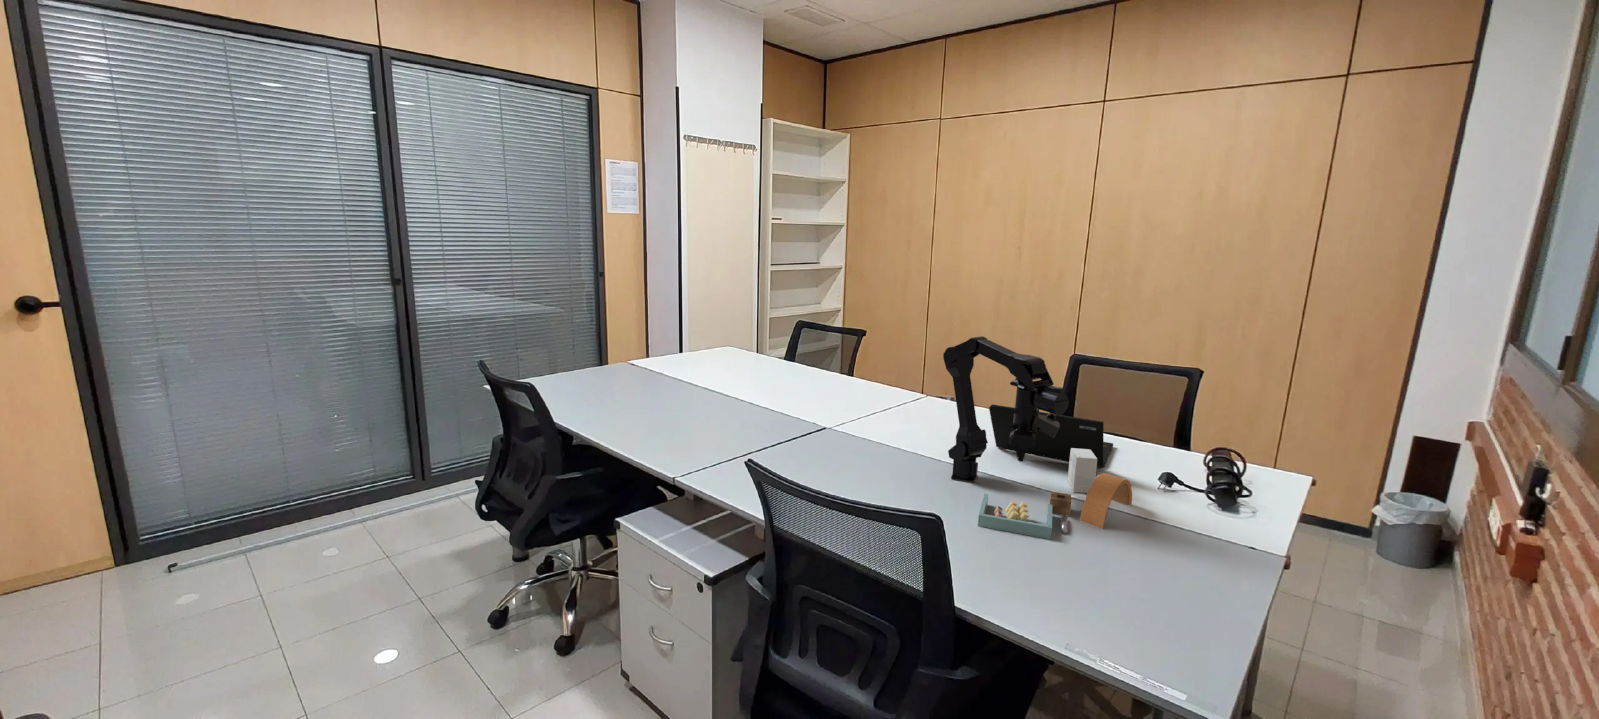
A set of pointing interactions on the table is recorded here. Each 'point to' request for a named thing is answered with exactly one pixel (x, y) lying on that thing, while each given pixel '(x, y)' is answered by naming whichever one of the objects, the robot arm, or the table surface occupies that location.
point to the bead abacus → (1014, 511)
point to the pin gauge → (1063, 524)
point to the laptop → (1059, 447)
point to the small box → (1081, 469)
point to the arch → (1104, 498)
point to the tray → (1015, 523)
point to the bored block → (1060, 503)
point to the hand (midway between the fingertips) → (1021, 460)
